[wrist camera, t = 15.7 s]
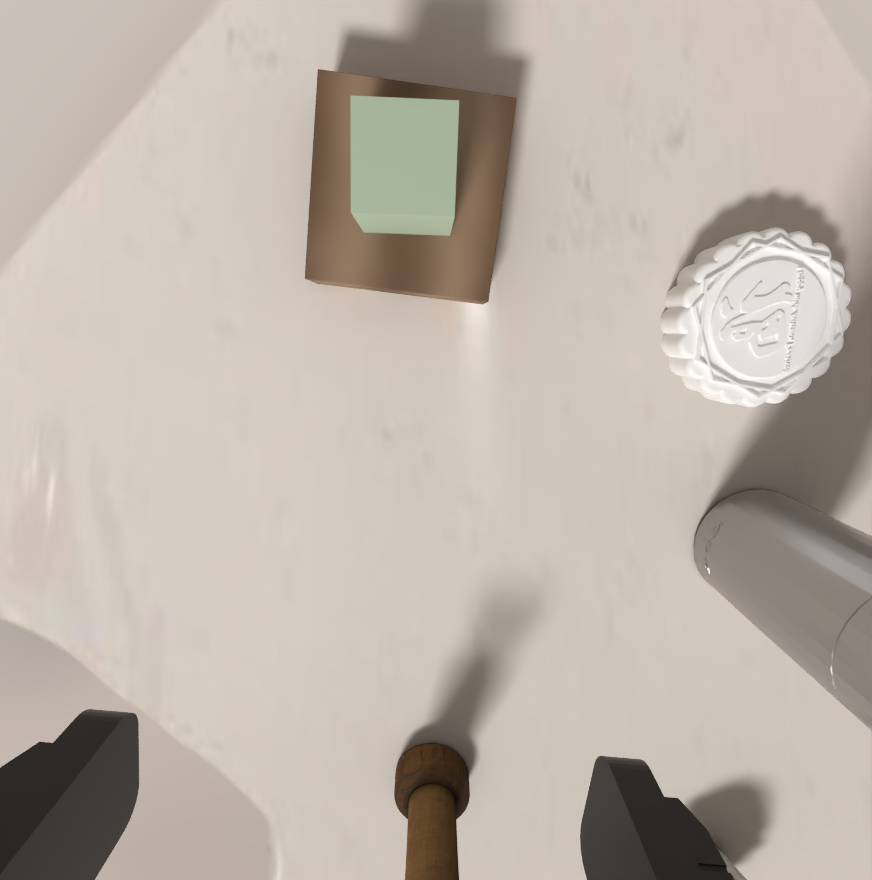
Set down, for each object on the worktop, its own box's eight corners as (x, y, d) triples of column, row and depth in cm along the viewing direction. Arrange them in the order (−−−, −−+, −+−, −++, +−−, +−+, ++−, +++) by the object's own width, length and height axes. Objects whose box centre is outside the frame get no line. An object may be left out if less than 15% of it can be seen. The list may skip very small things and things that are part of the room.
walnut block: (506, 124, 34) (516, 98, 30) (481, 304, 37) (488, 301, 33) (330, 99, 34) (317, 69, 30) (318, 283, 36) (304, 278, 32)
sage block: (453, 140, 31) (459, 100, 25) (450, 235, 32) (454, 216, 26) (363, 136, 31) (350, 95, 25) (363, 232, 32) (350, 212, 26)
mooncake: (665, 235, 36) (691, 224, 32) (832, 234, 36) (876, 224, 32) (650, 402, 38) (673, 409, 35) (806, 401, 38) (844, 408, 35)
